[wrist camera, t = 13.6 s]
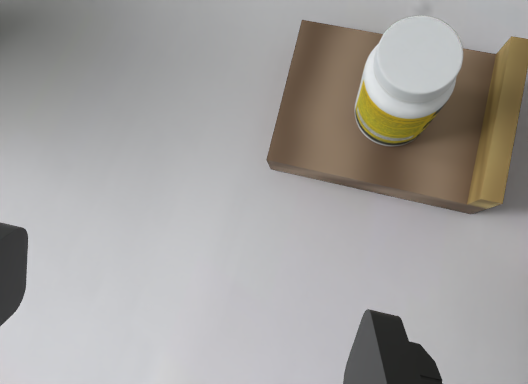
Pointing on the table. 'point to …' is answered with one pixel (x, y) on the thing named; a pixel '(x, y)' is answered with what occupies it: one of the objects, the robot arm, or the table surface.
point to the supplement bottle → (407, 79)
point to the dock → (415, 152)
